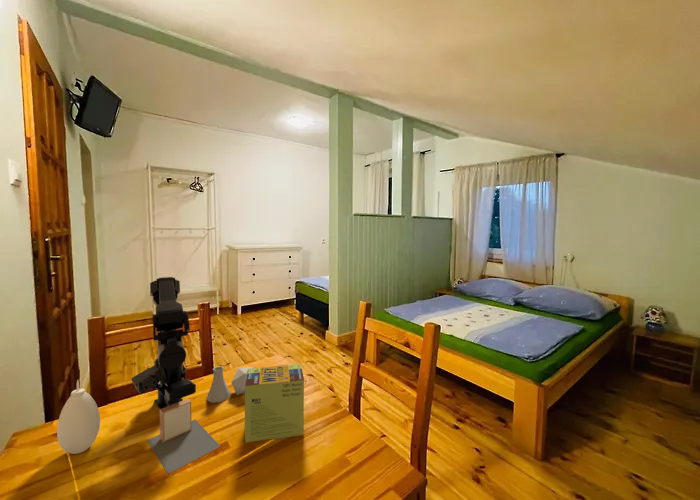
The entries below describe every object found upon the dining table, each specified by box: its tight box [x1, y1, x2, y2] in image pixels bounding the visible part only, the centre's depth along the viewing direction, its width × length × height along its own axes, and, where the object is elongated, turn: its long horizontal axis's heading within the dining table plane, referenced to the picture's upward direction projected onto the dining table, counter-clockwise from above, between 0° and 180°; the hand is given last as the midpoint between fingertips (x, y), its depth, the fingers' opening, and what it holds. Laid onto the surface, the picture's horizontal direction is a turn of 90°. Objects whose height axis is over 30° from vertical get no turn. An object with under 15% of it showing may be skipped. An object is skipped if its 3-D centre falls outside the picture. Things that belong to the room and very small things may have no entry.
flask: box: [205, 365, 231, 404], centre depth 99 cm, size 7×7×10 cm
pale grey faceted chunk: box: [231, 366, 256, 396], centre depth 103 cm, size 8×9×10 cm
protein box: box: [244, 363, 305, 443], centre depth 85 cm, size 10×15×16 cm
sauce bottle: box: [56, 379, 101, 455], centre depth 74 cm, size 8×8×18 cm
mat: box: [146, 419, 222, 475], centre depth 77 cm, size 16×12×1 cm
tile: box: [159, 398, 193, 442], centre depth 80 cm, size 2×7×8 cm, turn 138°
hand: (171, 410), depth 83 cm, fingers closed
